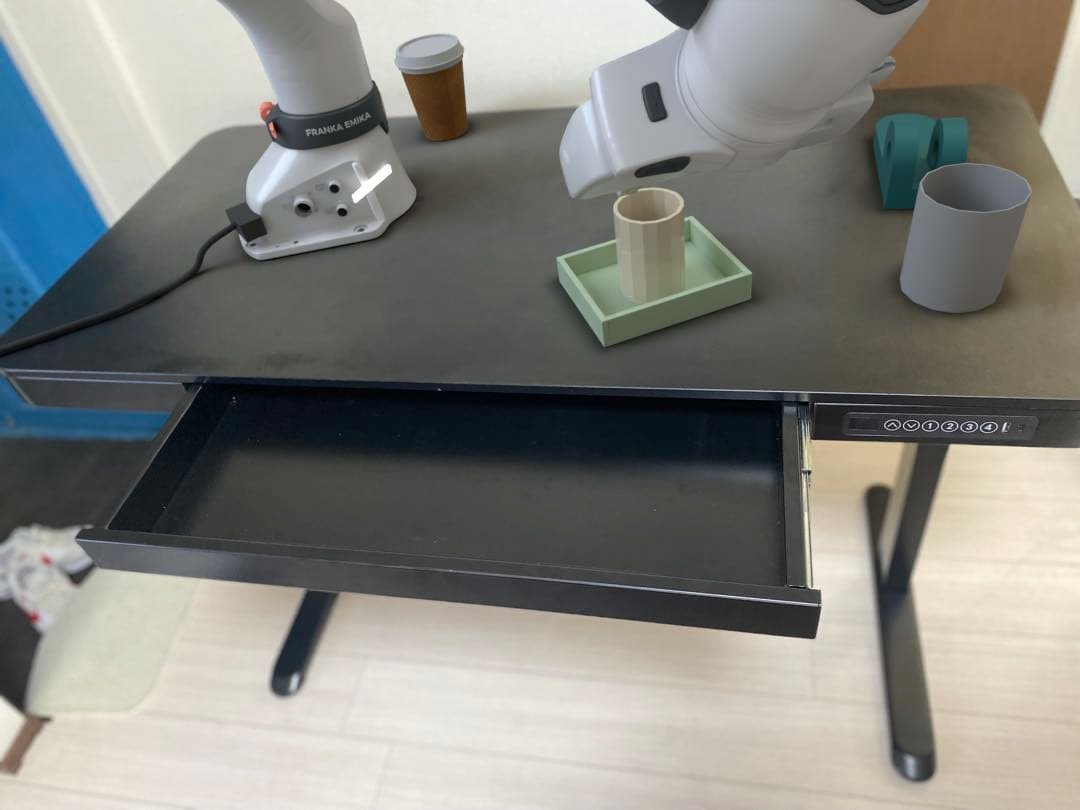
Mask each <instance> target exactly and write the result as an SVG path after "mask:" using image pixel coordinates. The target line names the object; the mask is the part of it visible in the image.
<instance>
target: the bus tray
mask: <svg viewBox="0 0 1080 810" xmlns="http://www.w3.org/2000/svg"><path fill="white" fill-rule="evenodd" d="M684 221H685V287H684V290H683V292H681V293H677V294H674V295H671V296H668V297H665V298H662V299H659V300H656V301H653V302H650V303H646V304H643V305H641V304H636V303H633V302H631V301H629V300H627V299H626V298H625V297H624V296H623V295H622V294H621V291H620V286H619V274H618V261H617V249H616V238H615V239H611V240H609V241H605V242H601V243H599V244H595V245H592V246H587V247H586V248H585V247H584V248H582V249H579V250H575V251H572V252H569V253H566V254H563V255H559V256H557V257H555V258H556V265H557V273H558V279H559V283H560V285H561V286H562V287H563V288H564V290H565V292H566V293H567V294H568V296H569V297H570V299H571V301H572V302H573V303H574V305H575V307H576V308H577V309H578V311H579V312H580V314H581V315H582V317H583V318H584V320H585V321H586V322H587V324H588V325H589V327H590V329H591V330H592V332H593V333H594V334H595V336H596V338H598V340H599V342H600V343H601V345H602V346H603V347H604V348H607V347H610V346H613V345H616V344H619V343H623V342H625V341H629V340H631V339H635V338H637V337H641V336H644V335H647V334H649V333H653V332H655V331H658V330H662V329H664V328H667V327H670V326H673V325H677V324H680V323H682V322H686V321H689V320H691V319H695V318H698V317H701V316H704V315H708V314H710V313H713V312H717V311H720V310H723V309H726V308H729V307H732V306H734V305H737V304H741V303H743V302H746V301H750V300H752V288H753V272H752V271H751V270H749V268H748V267H747V266H746V265H744V263H743V262H741V261H740V260H739V259H738V258H737V257H736V256H735V255H734V254H733V253H732V252H731V251H730V250H729V249H728V248H727V247H726V246H725V245H724V244H722V243H721V241H719V240H718V239H717V238H716V237H715V236H714V235H713V234H712V233H711V232H710V231H709V230H708V229H707V228H705V226H704V225H703V224H701V222H699V220H698V219H696V217H694V216H693V215H690V216H686V217H684Z"/></svg>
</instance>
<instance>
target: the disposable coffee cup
mask: <svg viewBox="0 0 1080 810" xmlns="http://www.w3.org/2000/svg"><path fill="white" fill-rule="evenodd" d="M464 53H465V47H464V45H463V44H461V41H460V39H459V37H458V36H456V35H455V34H451V33H432V34H431V33H430V34H426V35H420V36H417V37H414V38H410V39H409V40H405V42H402V43H401V44H399V45H398V46H397V47H396V48H395V58H394V64H395V66H396V67H397V69H398V70H399V71H400V73H401V76H402V78H403V81H404V84H405V86H406V89H407V92H408V95H409V98H410V100H411V103H412V105H413V108H414V110H415V112H416V116H417V118H418V121H419V123H420V126H421V129H422V131H423V134H424V137H425V138H426V139H428V140H429V141H433V142H435V141H436V142H445V141H450V140H453V139H456V138H458V137H460V136H462V135H464V134H465V133H466V132H467V131H468V128H469V125H468V112H467V99H466V98H467V97H466V86H465V75H464V61H463V58H464Z"/></svg>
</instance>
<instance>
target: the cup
mask: <svg viewBox="0 0 1080 810" xmlns="http://www.w3.org/2000/svg"><path fill="white" fill-rule="evenodd" d="M1032 193H1033V190H1032V188H1031V186H1030V184H1029V182H1028V180H1027V179H1025V178H1024V177H1023V176H1021V175H1020V174H1018V173H1016V172H1014V171H1013V170H1011V169H1007V168H1003V167H1000V166H997V165H993V164H986V163H985V164H983V163H971V162H970V163H969V162H966V163H962V164H955V165H947V166H942V167H940V168H938V169H935V170H933V171H931V172H928V173H927V174H926V175H925V177H924V178H923V179H922V181H921V182H920V184H919V189H918V194H917V199H916V204H915V208H914V209H913V214H912V218H911V223H910V228H909V233H908V236H907V237H908V239H907V242H906V247H905V251H904V256H903V261H902V266H901V270H900V276H899V283H900V288H901V292H902V293H903V294H904V295H906V297H908V299H910V300H911V301H912V302H913V303H915V304H917V305H919V306H922V307H925V308H927V309H929V310H932V311H938V312H944V313H952V314H962V313H971V312H978V311H981V310H983V309H985V308H987V307H989V306H991V305H993V304H994V303H995V302H996V300H997V299H998V297H999V295H1000V294H1001V291H1002V289H1003V284H1004V282H1005V278H1006V275H1007V272H1008V269H1009V266H1010V262H1011V259H1012V256H1013V253H1014V250H1015V248H1016V247H1015V246H1016V244H1017V240H1018V238H1019V234H1020V231H1021V228H1022V225H1023V222H1024V219H1025V215H1026V211H1027V209H1028V206H1029V202H1030V199H1031V197H1032Z"/></svg>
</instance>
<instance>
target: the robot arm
mask: <svg viewBox="0 0 1080 810" xmlns="http://www.w3.org/2000/svg"><path fill="white" fill-rule="evenodd" d="M215 1H216V2H218V3H219V4H220V5H221V6H223V7H224V9H226V10H227V11H228V12H229V13H230V15H232V16H233V17H234V19H235V20H236V21H237V22H238V23H239V25H240V26H241V27H242V28H243V30H244V31H245V33H246V34H247V36H248V38H249V39H250V41H251V43H252V45H253V47H254V49H255V51H256V53H257V56H258V58H259V61H260V63H261V65H262V67H263V70H264V72H265V74H266V77H267V79H268V82H269V84H270V87H271V89H272V92H273V94H274V98H275V100H276V104H275V103H273V102H271V101H263V102H262V103H261V104H260V105H259V106H260V107H259V108H258V109H259V115H260V118H261V120H262V121H263V122H264V123H265V125H266V128H267V131H268V134H269V136H270V139H271V140H272V142H270V144H269V146H268V147H267V148H266V150H265V151H264V153H263V154H262V155H261V156H260V158H259V159H258V161H257V162H256V163H255V165H254V166H253V167H252V168H251V170H250V172H249V174H248V175H247V179H246V183H245V200H246V201H244V202H241V203H239V204H236V205H234V206H231V207H229V208H227V209H224V211H225V214H226V216H227V218H228V220H229V222H230V224H228V225H227V226H226V227H224V228H222V229H221V230H219V231H218V232H217V233H215V234H213V235H212V236H210V238H207V240H206V241H205V242H204V243H203V244H202V246H200V248H199V250H198V251H197V254H196V258H195V262H194V264H193V266H192V267H190V269H189V270H188V271H186V272H185V273H184V274H183V275H182V276H180V277H179V278H177V279H176V280H174V281H172V282H171V283H169V284H167V285H165V286H162V287H160V288H158V289H155V290H153V291H150V292H147V293H144V294H143V295H140V296H138V297H135V298H133V299H130V300H129V301H126V302H124V303H122V304H119V305H117V306H114V307H112V308H108V309H106V310H103V311H100V312H98V313H94V314H92V315H88V316H85V317H82V318H79V319H76V320H74V321H71V322H68V323H64V324H62V325H59V326H56V327H53V328H50V329H48V330H47V329H46V330H44V331H42V332H38V333H36V334H32V335H30V336H29V335H28V336H27V337H23V338H20V339H18V340H14V341H11V342H8V343H5V344H3V345H0V355H1V354H3V353H6V352H11V351H13V350H16V349H18V348H22V347H25V346H29V345H31V344H35V343H36V342H37V343H38V342H40V341H42V340H45V339H48V338H51V337H54V336H58V335H60V334H64V333H65V332H69V331H72V330H74V329H75V330H76V329H77V328H81V327H82V326H86V325H89V324H92V323H95V322H99V321H101V320H104V319H108V318H110V317H113V316H115V315H118V314H120V313H123V312H126V311H128V310H130V309H132V308H135V307H137V306H140V305H142V304H144V303H146V302H148V301H151V300H153V299H156V298H158V297H161V296H163V295H165V294H167V293H169V292H171V291H173V290H174V289H176V288H178V287H179V286H181V285H182V284H184V283H186V282H188V281H189V280H190V279H192V278H193V277H195V275H196V274H197V273H198V272H199V271H200V269H201V267H202V265H203V263H204V258H205V255H206V254H207V251H209V249H210V248H211V247H212V246H213V245H215V244H216V243H217V242H218V241H220V240H221V239H223V238H225V237H226V236H228V235H229V234H231V233H232V232H233V231H236V232H237V233H238V236H239V241H240V243H241V246H242V248H243V250H244V251H245V253H246V254H247V255H248V256H249V257H251V258H252V259H255V260H257V261H265V260H271V259H274V258H280V257H286V256H291V255H296V254H301V253H302V254H303V253H307V252H312V251H317V250H322V249H327V248H332V247H338V246H343V245H348V244H352V243H353V244H354V243H359V242H363V241H364V242H365V241H370V240H374V239H377V238H378V237H381V235H383V233H385V231H386V230H387V229H388V227H389V225H390V224H391V223H393V222H394V221H396V219H398V218H399V217H401V216H402V215H404V214H405V213H407V211H408V210H409V209H410V208H411V207H412V206H413V204H414V203H415V201H416V199H417V194H418V193H417V189H416V186H415V185H414V182H412V180H411V179H410V177H409V175H408V173H407V171H406V170H405V168H404V166H403V164H402V162H401V160H400V158H399V155H398V152H397V151H396V148H395V146H394V143H393V140H392V138H391V136H390V126H389V123H390V122H389V118H388V115H387V110H386V107H385V103H384V99H383V96H382V93H381V90H379V87H378V85H377V82H376V81H375V80H373V78H372V75H371V71H370V68H369V67H370V66H369V64H368V60H367V56H366V53H365V50H364V46H363V43H362V39H361V36H360V32H359V28H358V24H357V22H356V20H355V17H354V16H353V15H352V13H351V12H350V11H349V10H348V9H347V8H346V7H345V6H344V5H342V4H341V3H339V2H338V1H336V0H215ZM644 1H645V2H646V3H648V4H649V5H650V6H651V7H652V8H653V9H654V10H656V11H657V12H658V13H659V14H661V15H662V16H663V17H664V18H665V19H666V20H668V21H669V22H670V23H672V24H674V25H675V26H677V27H678V28H677V29H675V30H674V31H672V32H671V33H669V34H668V35H665V36H664V37H662V38H660V39H659V40H657V41H654V42H653V43H651V44H649V45H646V46H644V47H642V48H639V49H637V50H634V51H633V52H630V53H628V54H626V55H623V56H620V57H618V58H615V59H613V60H611V61H608V62H605V63H603V64H601V65H599V66H598V67H596V68H595V69H594V70H593V71H592V72H591V74H590V76H589V90H590V97H589V98H587V99H585V100H584V101H583V102H582V103H580V105H579V106H578V107H577V108H576V109H575V111H574V112H573V114H572V115H571V117H570V119H569V121H568V123H567V126H566V128H565V130H564V132H563V135H562V138H561V141H560V144H559V150H558V153H559V162H560V166H561V170H562V175H563V178H564V182H565V185H566V189H567V191H568V194H569V196H570V197H571V199H573V200H577V201H586V200H590V199H594V198H598V197H602V196H606V195H607V196H608V195H610V194H614V193H615V194H616V195H617V196H618V198H619V197H621V196H625V195H629V194H633V193H637V192H638V190H639V189H641V187H644V186H648V185H652V184H657V183H661V182H664V181H670V180H673V179H677V178H681V177H686V176H689V175H695V174H699V173H703V172H713V171H714V172H715V171H719V170H722V171H724V172H725V171H726V172H730V173H731V172H733V173H746V172H748V173H749V172H754V171H757V170H762V169H763V168H767V167H769V166H771V165H773V164H774V163H776V162H778V161H780V160H781V159H783V157H784V156H785V155H787V154H788V153H789V152H790V151H794V150H797V149H803V148H806V147H810V146H811V147H812V146H815V145H820V144H824V143H828V142H831V141H833V140H836V139H838V138H840V137H842V136H843V135H846V134H847V133H848V132H849V131H851V130H852V129H853V128H854V127H855V126H856V125H857V124H858V123H859V122H860V121H861V120H862V118H863V117H864V116H865V115H866V114H867V113H868V111H869V110H870V109H871V107H872V106H873V104H874V101H875V95H874V94H875V93H874V91H873V89H874V88H875V87H877V86H879V85H880V84H881V83H883V82H884V81H885V80H886V79H887V78H889V76H890V75H891V74H892V73H894V71H895V70H896V59H895V58H893V57H892V56H890V55H889V54H890V53H891V52H892V51H894V49H895V48H896V47H897V45H898V44H900V42H901V41H902V39H904V38H905V36H906V35H907V34H908V32H909V31H910V30H911V29H912V27H913V26H914V24H915V23H916V22H917V20H918V19H919V18H920V16H921V15H922V14H923V13H924V11H925V10H926V8H927V7H928V5H929V4H930V2H931V0H644Z"/></svg>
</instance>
